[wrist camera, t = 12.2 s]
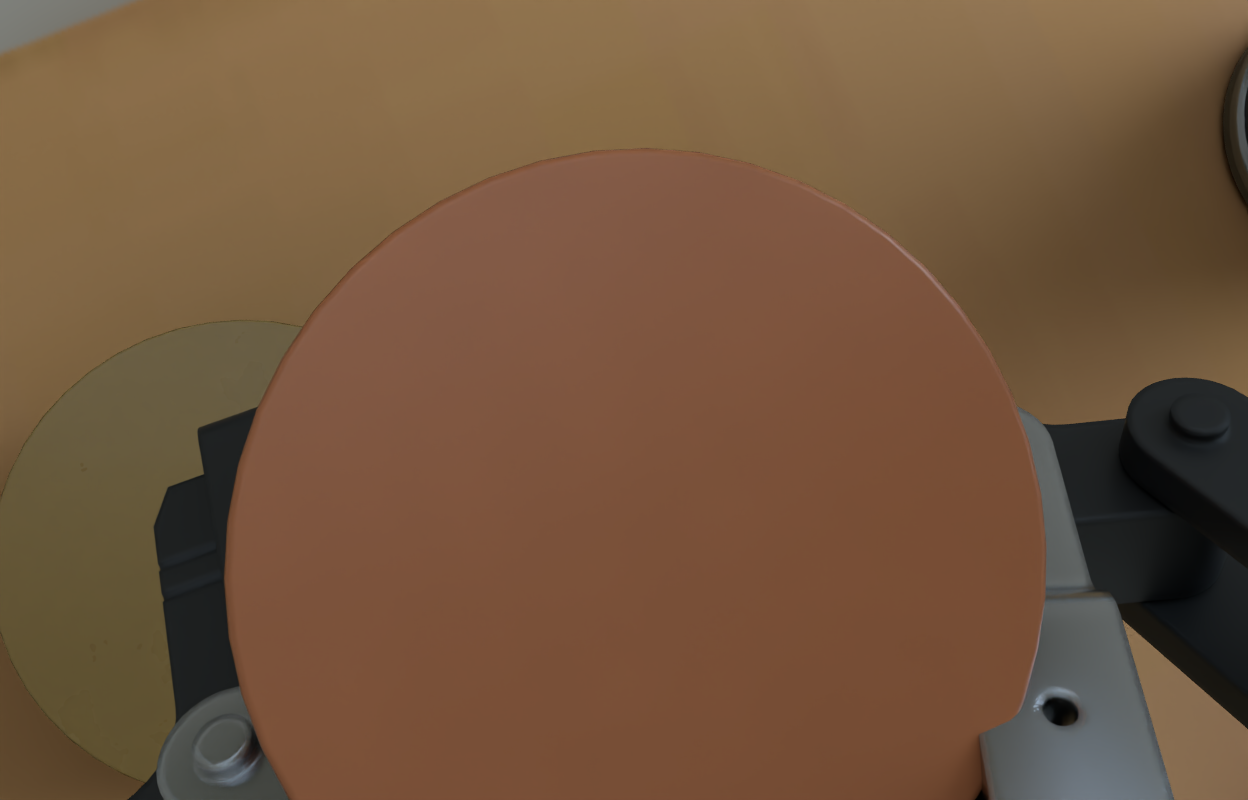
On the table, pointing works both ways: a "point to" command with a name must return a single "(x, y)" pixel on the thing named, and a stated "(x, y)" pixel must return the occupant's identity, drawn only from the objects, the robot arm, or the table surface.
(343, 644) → the tea tin
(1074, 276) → the table surface
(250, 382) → the biscuit tin
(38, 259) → the table surface
